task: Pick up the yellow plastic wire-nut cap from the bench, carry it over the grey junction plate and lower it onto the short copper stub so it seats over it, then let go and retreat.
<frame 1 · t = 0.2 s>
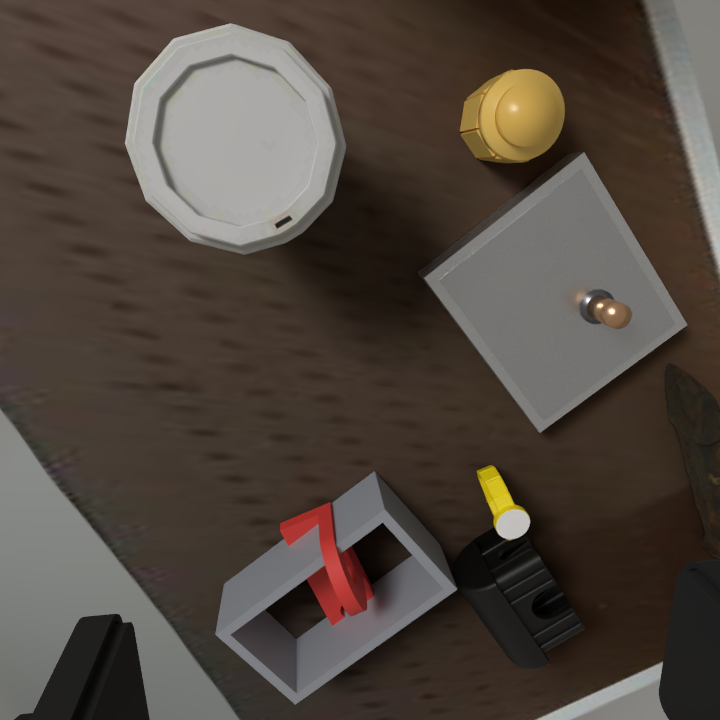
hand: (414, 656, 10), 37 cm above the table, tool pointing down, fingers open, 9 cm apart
wire nut: (498, 122, 43), on the table
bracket: (333, 565, 52), resting in parts corral
watch: (489, 485, 52), on the table
end cap: (501, 568, 55), on the table
disposable coffee cup: (255, 152, 42), on the table
junction plate: (547, 295, 47), on the table
hand tool: (684, 454, 53), on the table
parts corral: (333, 564, 52), on the table
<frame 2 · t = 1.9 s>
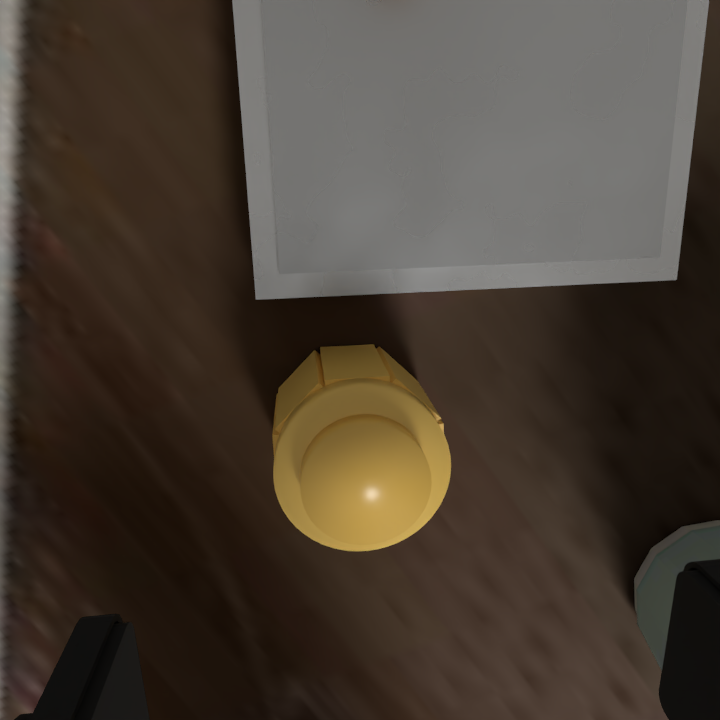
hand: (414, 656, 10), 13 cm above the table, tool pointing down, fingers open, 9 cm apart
wire nut: (349, 413, 23), on the table
disposable coffee cup: (688, 578, 27), on the table
junction plate: (456, 35, 20), on the table
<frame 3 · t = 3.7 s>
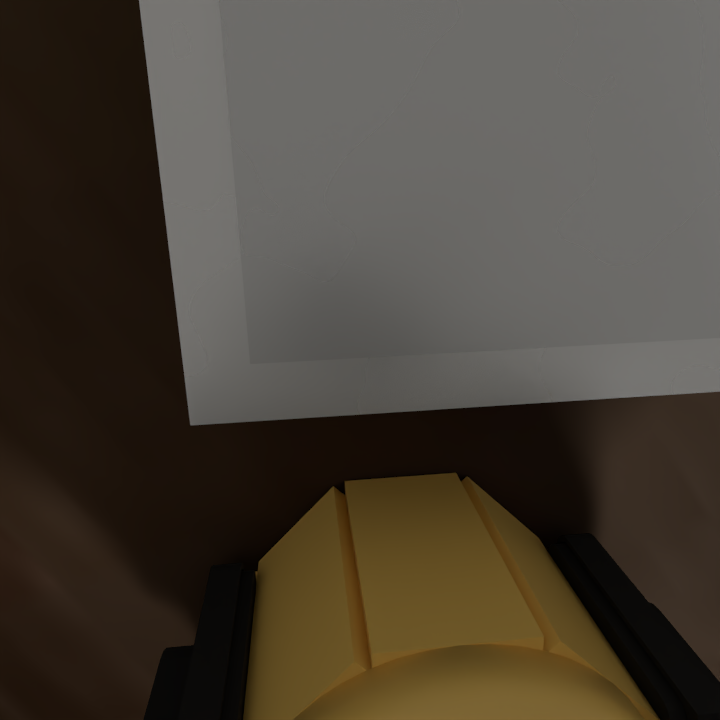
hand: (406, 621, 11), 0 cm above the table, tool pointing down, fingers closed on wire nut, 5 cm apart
wire nut: (401, 603, 11), on the table, touching gripper
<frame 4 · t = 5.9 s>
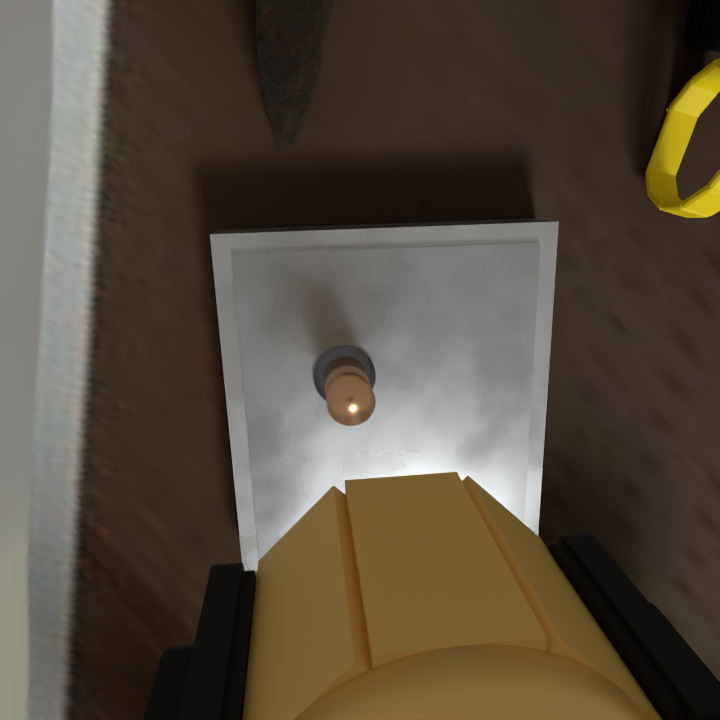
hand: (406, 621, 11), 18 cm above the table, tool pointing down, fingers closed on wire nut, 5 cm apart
wire nut: (402, 603, 11), point 17 cm above the table, touching gripper
watch: (666, 144, 27), on the table
junction plate: (383, 395, 28), on the table
when the fingers open (4 cm above the table, at t = 8.2 s): wire nut drops 1 cm, resting on junction plate.
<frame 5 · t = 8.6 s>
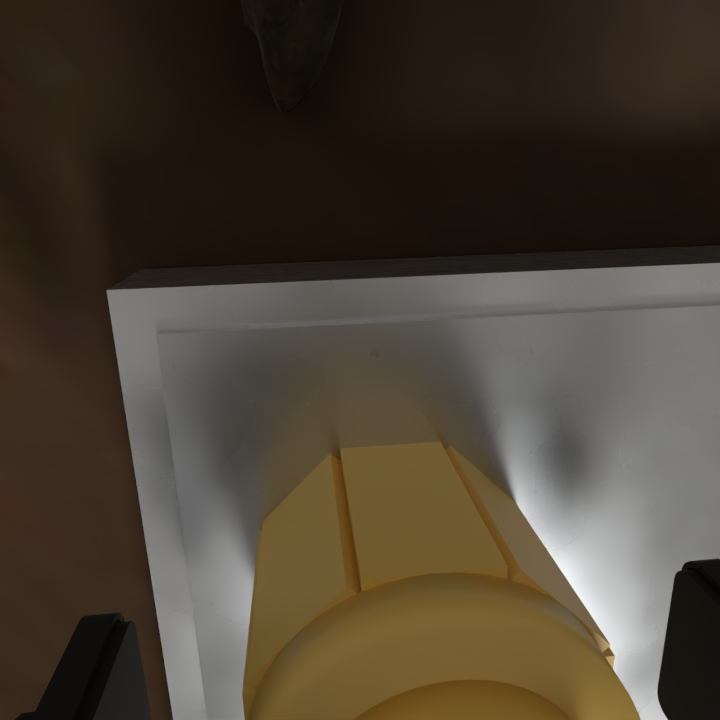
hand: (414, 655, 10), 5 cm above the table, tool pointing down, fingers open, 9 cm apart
wire nut: (391, 561, 13), point 3 cm above the table, touching junction plate
junction plate: (451, 557, 16), on the table
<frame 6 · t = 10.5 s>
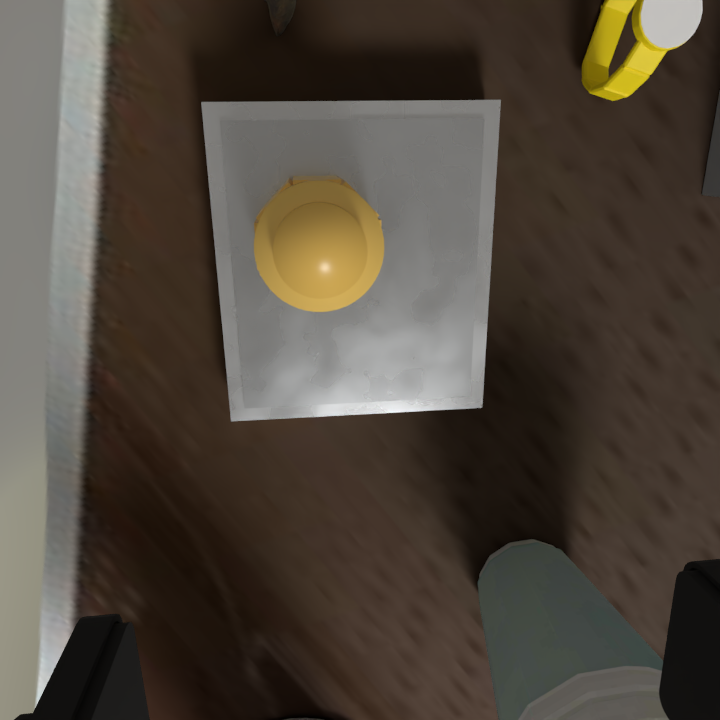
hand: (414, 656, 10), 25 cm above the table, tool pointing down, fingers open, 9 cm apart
wire nut: (316, 233, 29), point 3 cm above the table, touching junction plate
watch: (601, 39, 31), on the table
disposable coffee cup: (516, 574, 41), on the table
junction plate: (352, 262, 33), on the table
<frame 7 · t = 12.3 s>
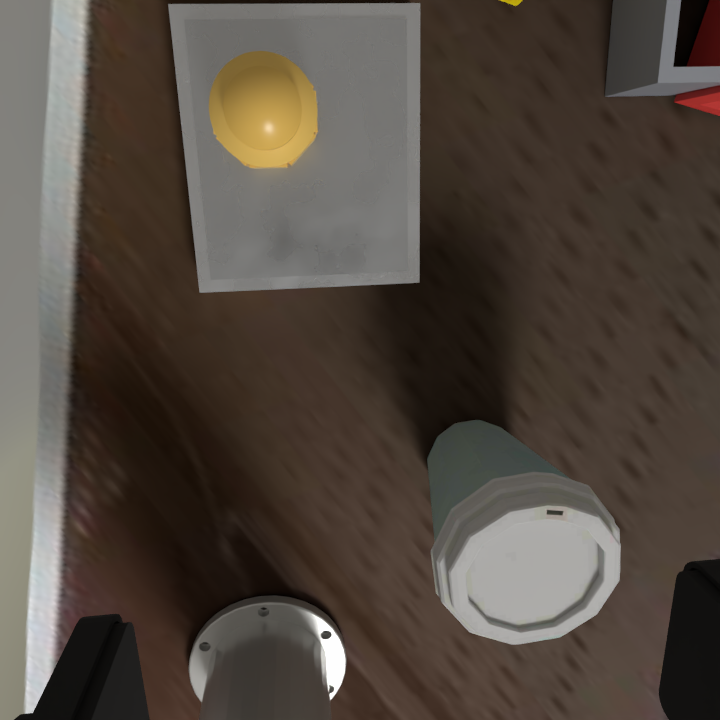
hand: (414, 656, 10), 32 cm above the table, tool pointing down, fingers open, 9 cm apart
wire nut: (268, 119, 35), point 3 cm above the table, touching junction plate
disposable coffee cup: (463, 455, 46), on the table
junction plate: (303, 156, 38), on the table
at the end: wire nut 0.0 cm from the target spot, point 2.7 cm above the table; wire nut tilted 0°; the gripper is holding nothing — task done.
